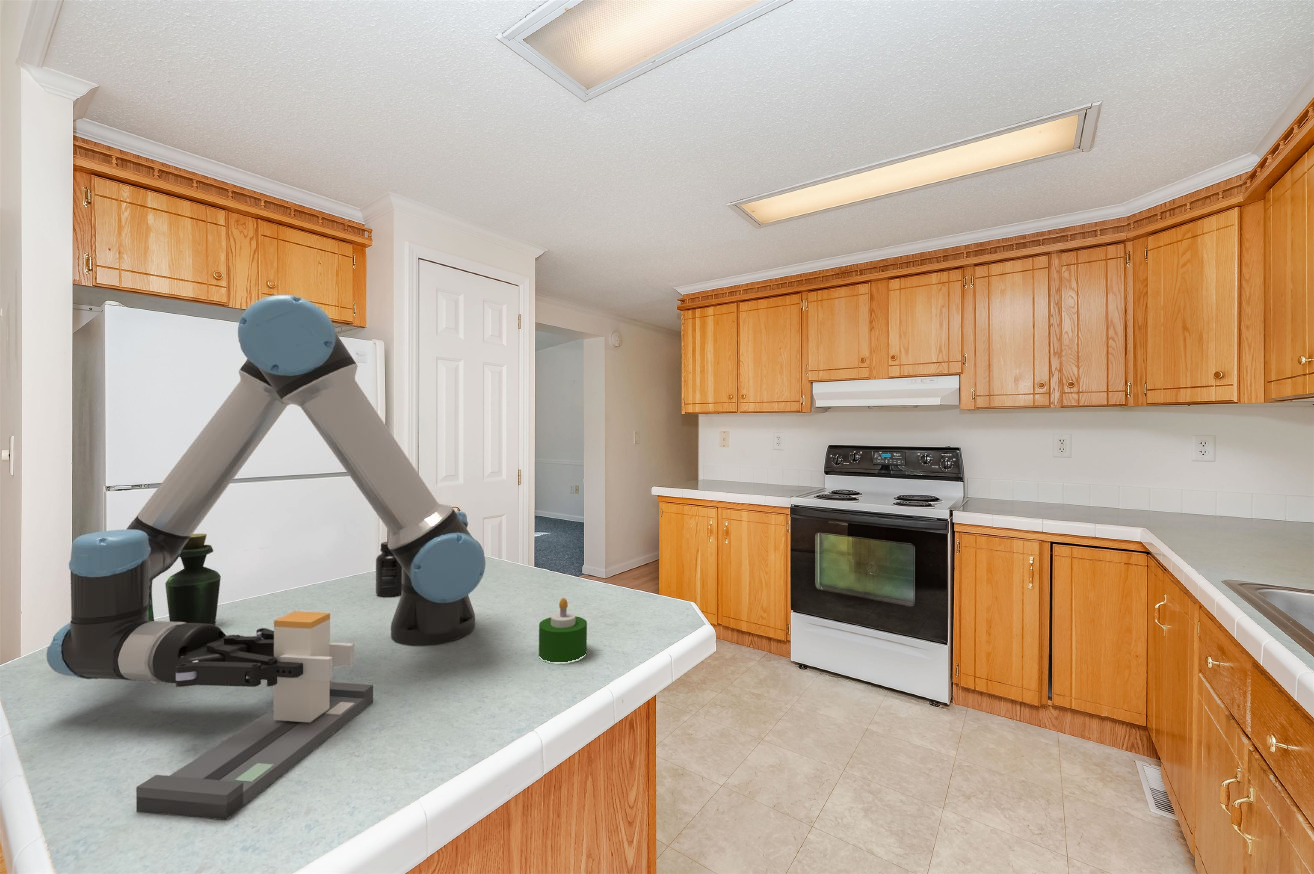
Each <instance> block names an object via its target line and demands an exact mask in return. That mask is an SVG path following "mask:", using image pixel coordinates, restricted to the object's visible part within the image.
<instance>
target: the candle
mask: <svg viewBox="0 0 1314 874" xmlns="http://www.w3.org/2000/svg"><path fill="white" fill-rule="evenodd" d="M558 603H559V604H558V607H559V609H560V610H559V612H555V613H553V614H552V615H551V616H549V617H547V618H545V619H542V620H541V621H540V622H539V623H538V624H539V625H538V657H539V656H540V657H541V658H542V659H543V660H547V661H550V662H568V661H572V660H576V659H579V658H580V657H582V656H584V655H585V654H586V655H587V653H586V651H588V650H587V647H588V646H587V644H588V642H587V640H588V637H587V636H588V622H587V620H586V619H585V618H583V617H580V616H577V615H576V614H575V613H572V612H570V611H567V608H568V605H569V604H568V601H567V599H566V598H565V597H561V599H560V600H559V602H558Z"/></svg>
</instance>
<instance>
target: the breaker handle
mask: <svg viewBox="0 0 1314 874" xmlns="http://www.w3.org/2000/svg"><path fill="white" fill-rule="evenodd" d="M273 631H274V657H276V658H277V661H280V656H282V655H284V654H289V655H306V656H325V657H330V642H331V613H330V612H319V611H300V610H299V611H297V610H295V611H292V612H291V613H287V614H285V615H283V616H281V617H279V618H276V619H275V620H274V619H273ZM330 682H331V679H330V680H329V681H323V680H307V679H290V678H280V677H277V684H276V685H274V686H273V709H274V713H273V720H282V721H296V722H309V723H310V722H311V721H313V720H314V719H315V718H317V717H318V716H320V715H321V714H322V713H324V712H325V711H326V710H328V709H329V696H330Z"/></svg>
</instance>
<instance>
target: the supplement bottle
mask: <svg viewBox="0 0 1314 874" xmlns="http://www.w3.org/2000/svg"><path fill="white" fill-rule="evenodd" d="M388 543H389V540H387V541H383V542H380V550H379V551H380V552H381V553H379V555H377V557H376V558H375V594H376V595H377V596H378V597H382V598H388V597H389V598H390V597H391V598H392V597H397V596H401V593H402V566H401V565H400V563H399V562H398V560H397V559H396V558H395V556H394V555H393V553H392V552H391V551H390V549H389V548H388Z"/></svg>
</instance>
